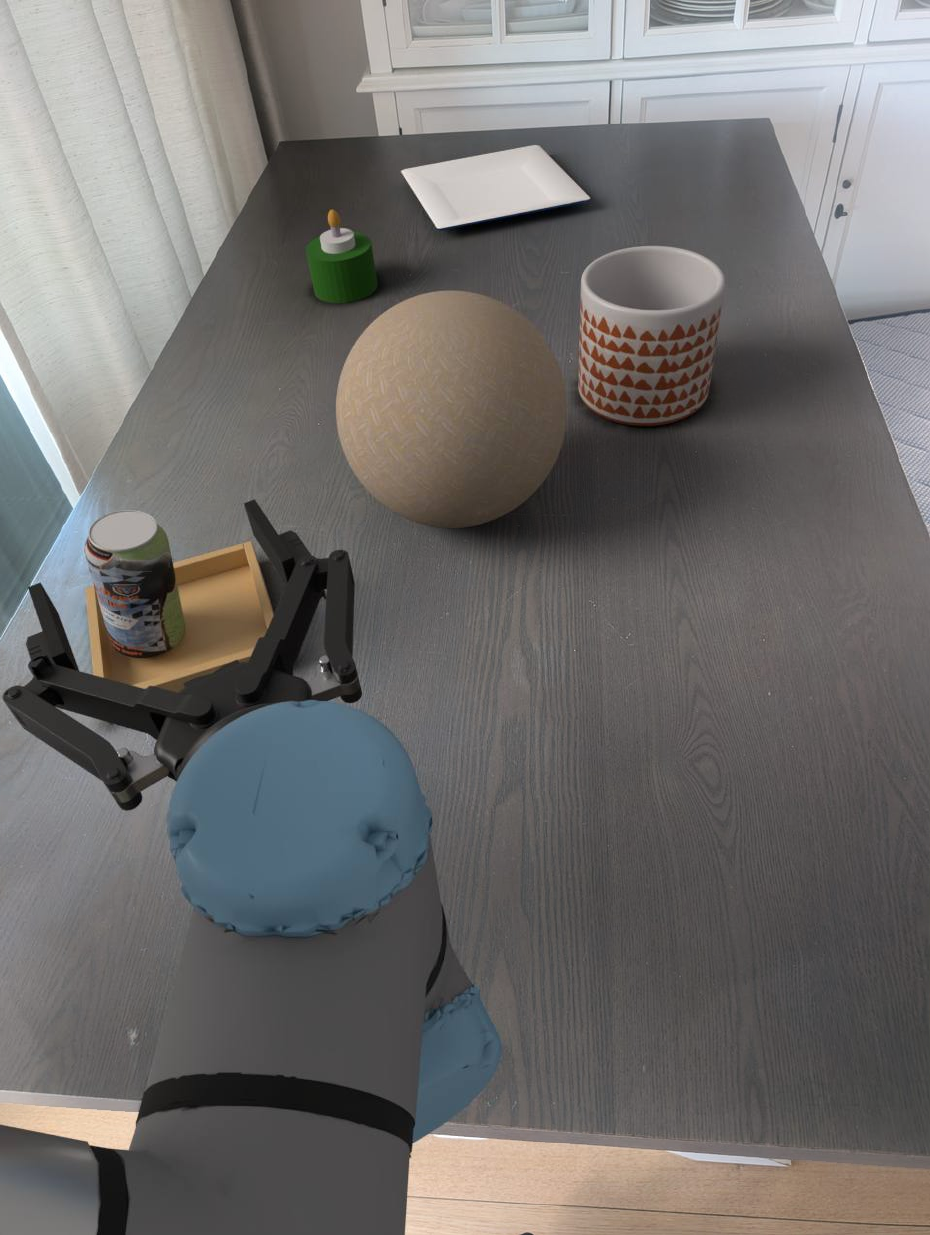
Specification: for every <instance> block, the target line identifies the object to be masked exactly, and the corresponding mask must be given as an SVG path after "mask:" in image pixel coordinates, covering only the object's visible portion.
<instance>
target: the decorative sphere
mask: <svg viewBox="0 0 930 1235" xmlns="http://www.w3.org/2000/svg"><path fill="white" fill-rule="evenodd" d="M335 418H336V428H337V433H338V438H339V442H340V445H341V447H342V452H343V454H344V456H345V458H346V461H347V462H348V465H349V466H350V468H351V470H352V472H353V474H354V475H355V476H356V478H357V479H358V481H359V482H360V483H361V485H362V486H363V487H364V488H365V489H366V491H367V492H368V493H369V494H370V495H372V496H373V497H374V499H375V500H377V501H378V502H379V503H380V504H381V505H383V506H384V507H386V508H387V509H388V510H390V511H392V512H393V513H395V514H397V515H398V516H400V517H403V518H404V519H407V520H409V521H412V522H415V523H418V524H421V525H425V526H428V527H435V528H442V529H443V528H446V529H460V528H469V527H474V526H479V525H482V524H486V523H490V522H491V521H494V520H497V519H498V518H501V517H503V516H505V515H507V514H508V513H511V512H512V511H514V510H515V509H518V507H520V506H521V505H522V504H523V503H525V502H526V501H527V500H528V499H530V498H531V496H532V495H533V494H535V492H536V491H537V490H538V489H539V488H540V486H542V484H544V482H545V481H546V479H547V477H548V475H549V474H550V473H551V471H552V469H553V467H554V465H555V464H556V462H557V459H558V458H559V454H560V452H561V449H562V446H563V442H564V439H565V434H566V429H567V421H568V396H567V389H566V385H565V380H564V377H563V373H562V370H561V368H560V365H559V363H558V360H557V358H556V356H555V354H554V352H553V350H552V348H551V347H550V345H549V343H548V341H547V340H546V339H545V338H544V336H543V335H542V334H541V333H540V331H539V330H538V329H537V327H535V326H534V325H533V324H532V322H530V321H529V320H528V319H527V318H526V317H525V316H524V315H522V314H521V313H519V311H517V310H516V309H514V308H512V307H511V306H509V305H507V304H506V303H504V302H501V301H500V300H497V299H495V298H492V297H491V296H488V295H483V294H480V293H478V292H477V293H476V292H472V291H465V290H437V291H431V292H426V293H422V294H418V295H415V296H412V297H410V298H407V299H405V300H403V301H400V302H399V303H397V304H395V305H393V306H392V307H390V308H388V309H387V310H386V311H384V312H383V313H381V314H380V315H379V316H378V317H377V318H376V319H374V320H373V321H372V322H371V323H370V324H369V325H368V326H367V327H366V328H365V329H364V331H363V332H361V335H360V336H359V337H358V338H357V339H356V341H355V343H354V344H353V346H352V347H351V349H350V351H349V353H348V355H347V357H346V359H345V361H344V364H343V367H342V370H341V372H340V376H339V379H338V384H337V390H336V398H335Z"/></svg>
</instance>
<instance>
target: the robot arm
mask: <svg viewBox="0 0 930 1235" xmlns="http://www.w3.org/2000/svg"><path fill="white" fill-rule="evenodd" d="M243 506H244V509H245V512H246V516H247V518H248V522H249V525H250V528H251V531H252V535H253V536H254V538H255V540H256V542H257V543H258V545H259V546H260V547H261V549H262V551H263V552H264V554H265V555H266V557H267V559H268V561H269V562H270V563H271V565H272V566H273V569H275V571H276V573H277V574H278V576H279V578H280V579H281V581H282V582H283V584H284V585H285V588H284V591H283V593H282V595H281V597H280V599H279V602H278V604H277V607H276V609H275V611H274V615H273V618H272V620H271V622H270V625H269V627H268V629H267V631H266V634H265V636H264V637H260V638H259V639H258V641H257V643H256V645H255V648H254V650H253V652H252V654H251V657H250V659H249V661H248V662H241V663H239V661H238V660H235V661H232V662H230V663H228V664H226V665H224V666H222V667H221V668H219V669H218V670H216V671H215V672H213V673H212V674H209V675H205V676H200V677H196V678H194V679H192V680H189V681H187V682H185V683H183V685H184V687H185V688H183V689H182V690H180V691H179V692H178V693H177V692H173V691H169V690H166V689H162V688H158V687H155V686H148V688H147V689H143V688H139V687H136V686H132V685H128V684H125V683H121V682H117V681H114V680H110V679H106V678H103V677H99V676H95V675H93V673H92V674H91V673H88V672H85V671H80V669H79V666H78V663H77V661H76V658H75V654H74V652H73V649H72V647H71V644H70V641H69V639H68V636H67V633H66V631H65V630H66V629H65V627H64V625H63V621H62V619H61V615H60V613H59V612H58V609H57V608H56V606H55V604H54V603H53V601H52V600H51V598H50V595H49V594H48V593H47V591H46V589H45V587H44V586H43V584H42V582H41V581H40V582H38V583H35V584H33V585H30V586H28V587H27V589H28V592H29V595H30V598H31V601H32V604H33V607H34V610H35V613H36V616H37V619H38V622H39V625H40V627H41V631H39V632H37V633H34V634H32V635H29V636H27V638H26V642H25V646H26V648H27V652H28V656H29V659H30V660H29V661H28V664H27V668H28V670H29V672H30V673H31V674H32V676H33V677H32V678H31V680H30V681H29V682H27V683H26V684H25V685H13V686H11V687H9V688H7V689H6V690H5V691H4V692H3V694H2V698H1V699H2V701H3V702H4V704H5V705H6V707H7V708H8V709H9V711H10V712H11V714H12V715H13V716H14V718H15V719H16V721H17V722H18V723H19V725H20V726H21V727H22V729H24V730H25V731H27V732H28V733H29V734H31V735H32V736H34V737H36V738H37V739H38V740H40V741H41V742H42V743H45V744H46V745H48V746H49V747H50V748H52V749H53V750H55V751H56V752H58V753H60V754H61V755H63V756H64V757H65V758H67V759H68V760H70V761H71V762H73V763H75V764H76V765H77V766H79V767H80V768H82V769H83V770H85V771H86V772H88V773H89V774H90V775H93V776H94V777H95V778H97V779H98V780H99V781H101V782H103V784H104V787H106V789H107V790H108V792H109V794H110V795H111V797H112V798H113V799H114V801H115V803H116V804H117V805H118V807H119V808H120V809H121V810H123V811H132V810H135V809H136V808H138V807H139V806H140V804H141V803H142V802H143V794H142V792H143V791H144V790H146V789H147V788H149V787H151V786H153V785H155V784H156V783H158V782H160V781H161V780H164V779H165V778H167V777H168V778H170V779H171V780H174V781H175V782H176V783H175V785H174V787H173V790H172V792H171V797H170V800H169V802H168V808H167V817H166V818H167V820H166V824H167V825H166V827H167V828H166V832H167V836H168V840H169V849H170V853H171V856H172V859H173V860H174V863H175V866H176V870H175V873H176V875H177V877H178V880H179V881H180V883H181V886H180V891H181V893H182V895H183V897H184V898H185V899H186V900H187V901H188V902H189V903H190V905H191V906H192V911H191V915H190V919H189V923H188V927H187V929H186V930H187V931H186V934H185V939H184V941H183V945H182V949H181V953H180V957H179V960H178V964H177V968H176V972H175V974H174V975H175V976H174V979H173V982H172V987H171V991H170V994H169V998H168V1001H167V1006H166V1010H165V1013H164V1017H163V1021H162V1025H161V1029H160V1033H159V1037H158V1040H157V1044H156V1048H155V1051H154V1055H153V1060H152V1063H151V1067H150V1071H149V1073H148V1074H149V1075H148V1079H147V1083H146V1085H145V1090H144V1091H143V1094H142V1098H141V1101H140V1104H139V1109H138V1112H137V1116H136V1120H135V1129H134V1132H133V1135H132V1138H131V1141H130V1144H129V1148H128V1149H120V1148H110V1147H104V1146H98V1145H91V1144H89V1142H88V1141H87V1140H81V1139H77V1138H72V1137H66V1136H62V1135H56V1134H50V1133H47V1132H40V1131H36V1130H31V1129H26V1128H20V1127H15V1126H11V1125H5V1124H0V1235H406V1226H407V1224H406V1223H407V1222H406V1221H407V1207H408V1206H407V1205H408V1189H409V1174H410V1160H411V1158H412V1155H411V1154H412V1152H413V1145H414V1144H415V1143H416V1142H419V1141H420V1140H422V1139H424V1137H427V1136H428V1135H429V1134H431V1133H432V1132H434V1131H435V1130H437V1129H439V1128H441V1127H442V1126H443V1125H445V1124H446V1123H448V1122H449V1121H450V1120H452V1119H453V1118H454V1117H456V1116H457V1115H458V1114H459V1113H461V1112H462V1111H463V1110H464V1109H465V1108H467V1107H468V1106H469V1105H470V1104H471V1103H472V1102H473V1101H474V1100H475V1099H476V1098H477V1097H478V1096H479V1095H480V1094H481V1093H482V1092H483V1091H484V1090H485V1089H486V1087H487V1086H488V1085H489V1084H490V1083H491V1081H492V1079H493V1077H494V1076H495V1074H496V1072H497V1071H498V1068H499V1067H500V1064H501V1059H502V1055H503V1044H502V1039H501V1036H500V1034H499V1032H498V1030H497V1028H496V1027H495V1026H496V1025H495V1024H494V1022H493V1021H492V1019H491V1016H490V1014H489V1012H488V1010H487V1009H486V1006H485V1005H484V1003H483V1001H482V998H481V989H480V987H479V986H478V984H477V983H476V982H472V980H471V979H470V978H469V976H468V974H467V972H466V971H465V969H464V968H463V966H462V964H461V962H460V961H459V959H458V956H457V954H456V953H455V950H454V948H453V946H452V943H451V938H450V932H449V927H448V922H447V917H446V912H445V909H444V905H443V903H442V899H441V892H440V886H439V881H438V880H439V879H438V873H437V868H436V861H435V856H434V855H435V854H434V848H433V842H432V835H431V833H432V831H433V825H434V821H433V813H432V809H431V808H430V807H429V806H428V805H427V804H426V802H427V796H426V795H425V794H423V792H422V789H421V787H420V783H419V779H418V776H417V774H416V770H415V768H414V765H413V764H414V763H413V762H412V759H411V757H410V755H409V753H408V751H407V750H406V748H405V747H404V745H403V743H402V742H401V741H400V739H399V738H398V737H397V736H396V735H395V733H394V732H393V731H392V729H390V728H388V726H386V725H385V724H384V723H383V722H382V721H380V720H379V719H377V718H376V717H374V716H373V715H371V714H369V713H367V712H366V711H364V710H361V709H359V708H356V707H354V706H350V705H347V704H354V703H357V702H358V701H359V700H361V698H362V696H363V690H362V686H361V681H360V678H359V674H358V669H357V665H356V662H355V659H354V657H353V656H354V655H353V654H354V652H353V651H354V626H355V625H354V623H355V619H354V618H355V596H356V594H355V593H356V592H355V591H356V582H355V579H354V573H353V568H352V563H351V559H350V555H349V552H348V551H347V550H344V549H336V550H333V551H331V553H330V554H329V555H328V557H325V558H324V557H323V558H320V557H319V558H318V557H316V556H314V555H312V554H311V552H310V551H309V549H308V548H307V546H306V545H305V543H304V542H303V541H302V538H300V536H299V535H298V533H297V532H295V531H293V530H290V529H289V530H287V531H284V532H283V533H278V532H277V530H276V529H275V527H274V526H273V524H272V522H270V520H269V518H268V516H267V515H266V514H265V512H264V511H263V509H262V508H261V506H260V505H259V504H258V502H257V500H256V499H255V498H254V499H251V500H249V501H246V502H244V503H243ZM322 598H323V600H325V610H324V624H323V626H324V627H323V646H324V651H325V654H324V655H322V656H320V657H319V659H318V663H317V664H316V667H315V675H314V677H313V678H312V679H311V680H308V681H307V680H305V679H304V678H302V677H300V676H297V675H294V667H295V664H296V662H297V660H298V658H299V654H300V652H301V650H302V647H303V645H304V641H305V639H306V637H307V634H308V632H309V629H310V627H311V625H312V622H313V619H314V617H315V614H316V612H317V609H318V607H319V604H320V602H321V600H322ZM337 698H340V699H341V701H343V702H344V703H343V702H342V703H341V702H337V701H331V700H334V699H337ZM345 703H347V704H345ZM62 710H63V711H62ZM64 711H68V712H71V713H75V714H79V715H82V716H84V717H88V718H92V719H95V720H99V721H102V722H106V723H108V722H109V723H108V724H113V725H115V726H120V727H123V728H126V729H130V730H134V731H137V732H140V733H144V734H147V735H149V736H150V737H151V738H153V739H154V740H156V741H155V743H154V747H153V754H150V755H140V754H139V753H137V751H135V750H128V748H126V747H121V748H119V749H118V750H116V749H115V747H114V746H113V745H112V744H111V742H110V741H108V740H107V739H106V738H104V737H103V736H102V735H100V734H98V733H97V732H95V731H94V730H92V729H91V728H90V727H88V726H86V725H84V724H83V723H81V722H80V721H78V720H77V719H75V718H73V717H72V716H70V715H68V714H67V713H65V712H64Z"/></svg>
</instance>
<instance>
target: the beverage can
mask: <svg viewBox="0 0 930 1235" xmlns="http://www.w3.org/2000/svg"><path fill="white" fill-rule="evenodd" d="M167 534H168V533H166V531H165V530H164V529H163V527H162V526H161V525H160V524H159V523H158V522H157V520H156V519H155V518H154V517H153V516H152V515H151V514H149V513H147V512H145V511H140V510H134V509H125V510H124V509H121V510H117V511H112V512H109V513H107V514H104V515H102V516H101V517H99V518H97V519H96V520H95V521H94V522H93V523H92V524H91V525H90V527H89V529H88V536H87V538H86V540H85V543H84V555H85V558H86V563H87V565H88V569H89V572H90V577H91V580H92V583H93V585H94V587H95V591H96V594H97V598H98V601H99V605H100V608H101V612H102V615H103V619H104V622H105V626H106V629H107V633H108V636H109V640H110V643H111V645H112V647H113V648H114V649H115V650H116V651H117V652H119V653H120V654H123V655H125V656H128V657H132V658H150V657H155V656H158V655H161V654H164V653H166V652H168V651H170V650H171V649H173V648H174V647H175V646H176V645H177V644H179V642H180V641H181V640H182V638H183V636H184V634H185V621H184V616H183V611H182V606H181V601H180V596H179V591H178V586H177V581H176V576H175V571H174V566H173V563H174V562H173V557H172V556H173V555H172V552H171V547H170V541H169V537H168V535H167Z"/></svg>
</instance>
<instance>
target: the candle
mask: <svg viewBox="0 0 930 1235" xmlns="http://www.w3.org/2000/svg"><path fill="white" fill-rule="evenodd" d="M327 223H328V225H329V226H330V229H328V230H326V231H324V232H322V233H321V234H320V236H318V237H316V238H314V239H312V240H311V241H310V242H309V243H307V245H306V247H305V254H306V259H307V264H308V268H309V273H310V278H311V283H312V287H313V292H314V295H315V296H316V298H318V299H319V300H321V301H323V302H325V303H330V304H348V303H353V302H357V301H360V300H363V299H365V298H367V297H369V296H370V295H372V294H373V293H374V292H375V291H376V290H377V288H378V277H377V272H376V271H377V270H376V265H375V259H374V251H373V245H372V240H371V238H370V237H369V236H368V235H366V234H365V233H362V232H357V231H353V230H351V229H350V228H345V227H340V225H341V218H340V215H339V214H338V211H336V210H335V209H330V210H329V211H328V213H327Z"/></svg>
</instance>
